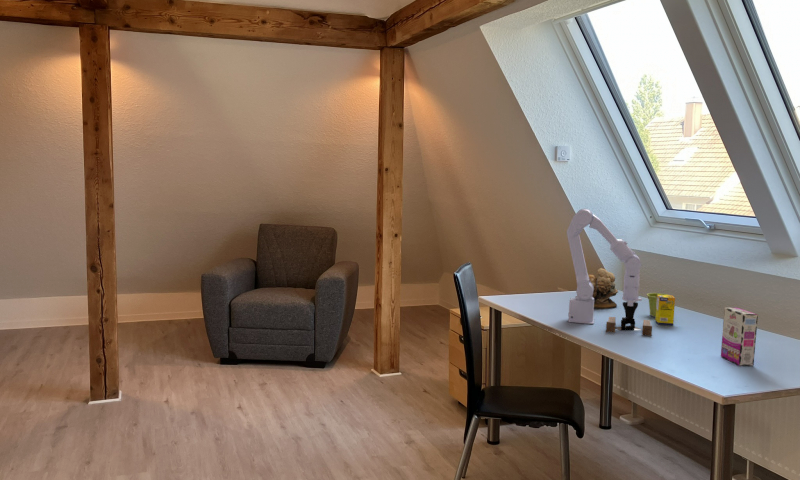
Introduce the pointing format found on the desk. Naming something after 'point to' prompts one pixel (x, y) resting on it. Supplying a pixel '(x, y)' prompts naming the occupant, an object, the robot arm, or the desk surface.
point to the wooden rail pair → (645, 331)
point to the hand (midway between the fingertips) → (629, 321)
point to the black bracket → (627, 321)
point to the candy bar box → (739, 336)
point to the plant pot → (653, 302)
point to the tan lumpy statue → (603, 289)
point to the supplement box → (665, 309)
